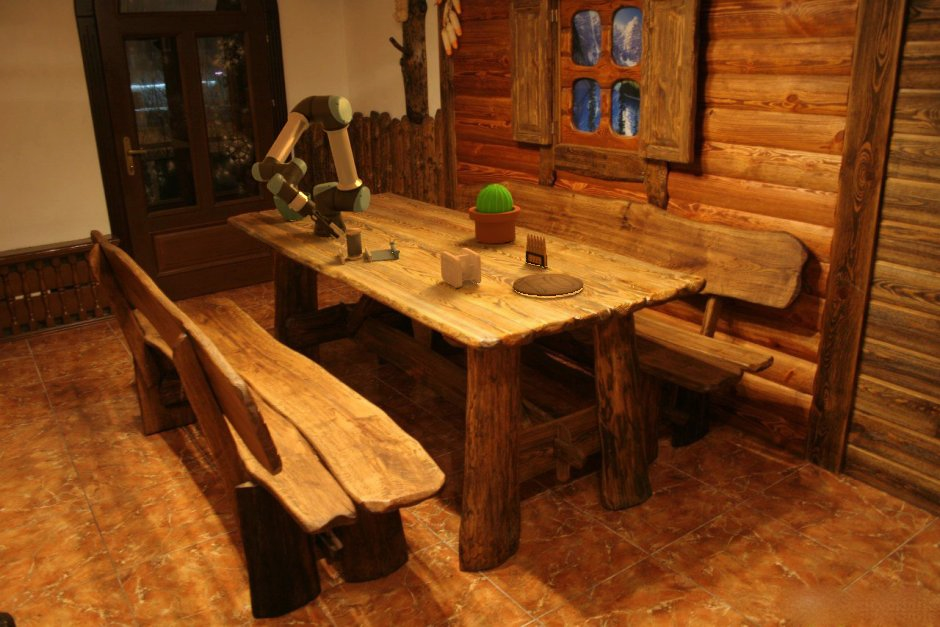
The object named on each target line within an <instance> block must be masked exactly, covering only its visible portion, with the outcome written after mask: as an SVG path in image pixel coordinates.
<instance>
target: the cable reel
mask: <svg viewBox="0 0 940 627" xmlns="http://www.w3.org/2000/svg"><path fill="white" fill-rule="evenodd" d="M361 232H362V229H361V228H359V227H351V228H346V230H345V233H344V234H345V238H346V239H347V241H346V242H345V243H346V251H347V256H346V257H347V260H348V259H350V260H349V261H359V260H358V259H360V260H363V259H364V254H363V248H362V237H361V236H362V235H361ZM362 258H363V259H362Z"/></svg>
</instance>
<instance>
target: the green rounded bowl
mask: <svg viewBox="0 0 940 627" xmlns="http://www.w3.org/2000/svg"><path fill="white" fill-rule="evenodd" d="M301 192H302V193H304V194H305V195H306V196H307V199H311V198H312V197H311V193H309V192H305V191H301ZM273 202H274V205H275V207H276V210H277V211H278V212H279V214H280V216H281V217H282V218H283V219H284V220H285V219H286V220H285V221H287V220H298V219H302V220H304V218H303V217H302V216H300V215H299V214H298V213H297V211H295V210H293V209H292V208H291V209H289V207H290V206H288V205H287V204H286V203H285V202H283V201H282V200H281V199H279V198H278V197H277V196H276V195H274V196H273Z"/></svg>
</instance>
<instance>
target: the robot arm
mask: <svg viewBox="0 0 940 627" xmlns="http://www.w3.org/2000/svg"><path fill="white" fill-rule="evenodd" d="M352 119H353V110H352V106H351V103H350V102H349V100H348V99H347V98H346V97H344V96H342V95H336V94H332V95H329V94H328V95H327V94H326V95H310V96H307V97H304V98H303V99H301V101H298V103H297V104H296V105H295V106H294V107H293V108H292V109H291V111H290V112H289V113H288V116H287V122H286V123H285V125H284V127H282V130H281V131H280V133H279V134H278V136H277V138H276V140H275V141H273V142H274V143H273V144H272V146H271V147H270V149H269V150H268V152H267V153H266V155H265V157H264V158H263V160H262V161H258V162H256V163H254V164H253V165H252V166H251V167H252V168H251V174H252V176H253V178H254V180H255V181H258V182H263V183H264V182H266V183H267V184H266V187H267V189H268V191H269V192H270V193H272V194H273V195H274V196H277V197H278V198H279V199H281V200H282V201H283V202H285V203H286V204H287V205H288V206H290V207H289V209H291V208H292V209H293V210H295V211H297V213H298V214H299V215H300V216H302V217H303V219H305V218H307V217H308V216H309V217H310V219H311V221H313V222H314V225H313V230H312V231H313V235H314V236H316V235H317V237H332V238H333V239H335V240H336V241H337V242H338V243H339V244H340V245H342V246H344V244H345V243H347V242H346V241H347V239H346V237H344V236H343V235H344V234H345V230H346V229H347V226H346V224H345V221H344V219H343V217H342V213H355V214H356V213H364V212H366V211H367V209H368V208H369V206H370V201H371V192H370V191H371V190H370V188H368V187H367V186H364V184H363V181H362V179H360V178H359V176H358V173H357V168H356V165H355V164H356V163H355V160H354V154H353V150H352V147H351V142H350V138H349V134H348V128H349V126H350V122H351V121H352ZM313 124H321V127H322V130H323V131H324V132H325V133H327V138H328V141H329V146H330V150H331V154H332V155H331V156H332V157H333V158H332V159H333V161H334V167H335V171H336V175H337V179H338V181H337V182H336V181H332V182H325V183H320V184H317V185H315V186H314V187H313V191H312V192H313V200H312V199H311V198H310V199H307V196H306V195H305V194H304V193H305V192H304V193H302V192H303V191H301V190H300V189H299V188H297V186H298V185H299V183H300V182H301V180H302V179H303V178H304V176H305V174H306V173H307V169H308V167H307V164H306V163H305V161H304V160H302V159H301V158H299V157H293V158H292V159H290V160H289V162H286V160H287V159H288V157H289V155H290V154H291V152H292V150H293V149H294V147H295V145H296V144H297V142H298V141H299V139H300V137H301V135H302V134H303V133H304V131H306V130H308V129H309V127H310V126H311V125H313ZM343 233H344V234H343Z"/></svg>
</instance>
